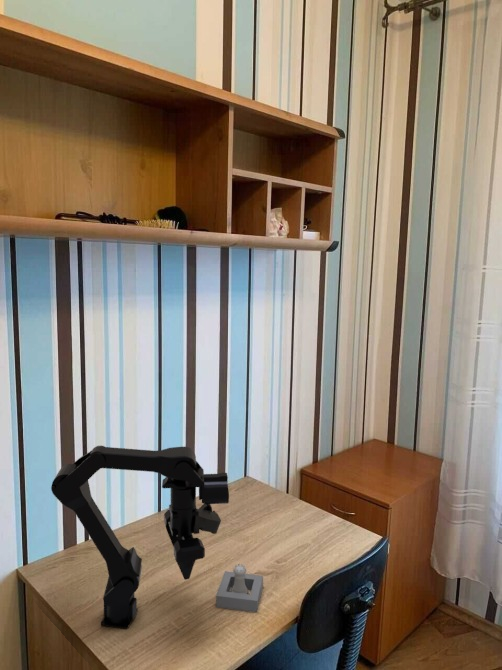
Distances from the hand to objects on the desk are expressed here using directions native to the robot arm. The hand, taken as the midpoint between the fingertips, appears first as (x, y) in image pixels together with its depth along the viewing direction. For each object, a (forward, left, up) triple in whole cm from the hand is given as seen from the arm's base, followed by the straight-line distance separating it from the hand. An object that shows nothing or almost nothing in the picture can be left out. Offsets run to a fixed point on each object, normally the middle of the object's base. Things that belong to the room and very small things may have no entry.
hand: (183, 567), depth 120 cm
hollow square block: (+12, +9, -12) cm, 19 cm away
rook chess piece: (+12, +9, -12) cm, 19 cm away
